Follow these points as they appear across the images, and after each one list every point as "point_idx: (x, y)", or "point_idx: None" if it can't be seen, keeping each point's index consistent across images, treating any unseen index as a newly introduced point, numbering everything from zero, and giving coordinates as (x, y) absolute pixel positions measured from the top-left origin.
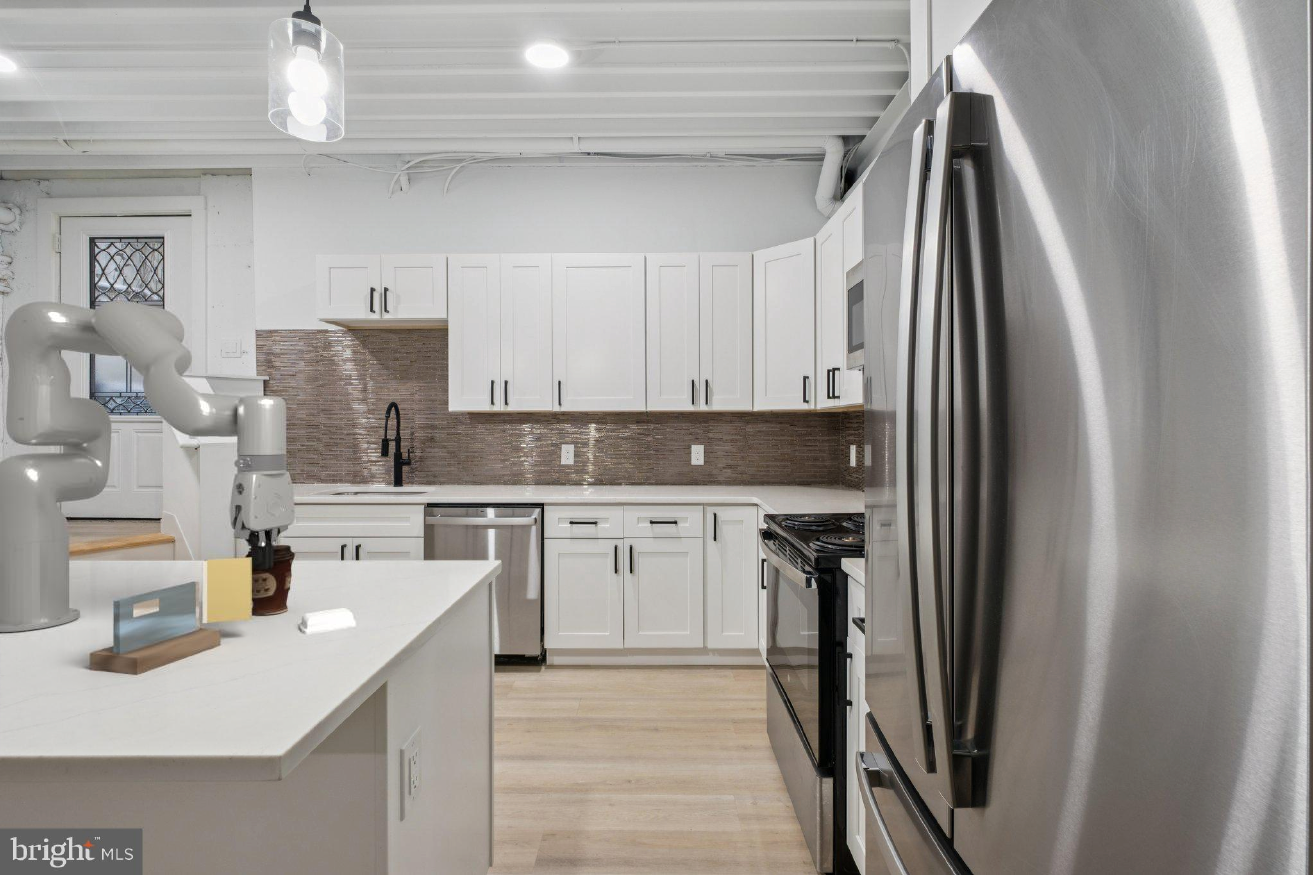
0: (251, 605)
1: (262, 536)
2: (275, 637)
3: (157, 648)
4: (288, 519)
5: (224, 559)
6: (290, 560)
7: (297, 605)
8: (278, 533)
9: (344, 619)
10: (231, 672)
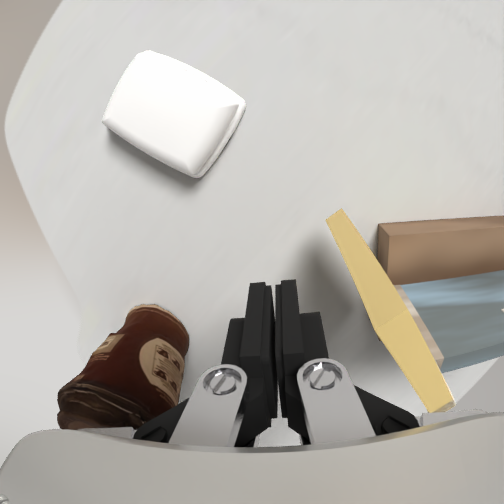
0: (334, 230)
1: (332, 417)
2: (295, 152)
3: (496, 240)
4: (62, 472)
5: (430, 379)
6: (80, 378)
7: (102, 318)
8: (153, 426)
9: (159, 59)
10: (478, 66)
